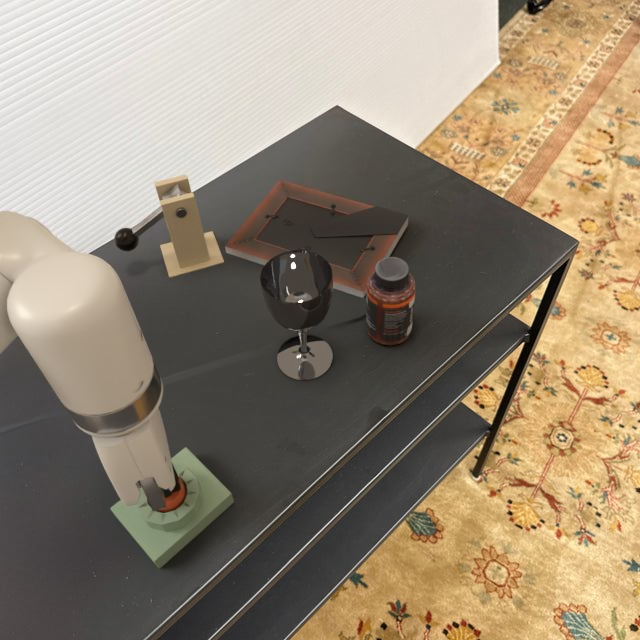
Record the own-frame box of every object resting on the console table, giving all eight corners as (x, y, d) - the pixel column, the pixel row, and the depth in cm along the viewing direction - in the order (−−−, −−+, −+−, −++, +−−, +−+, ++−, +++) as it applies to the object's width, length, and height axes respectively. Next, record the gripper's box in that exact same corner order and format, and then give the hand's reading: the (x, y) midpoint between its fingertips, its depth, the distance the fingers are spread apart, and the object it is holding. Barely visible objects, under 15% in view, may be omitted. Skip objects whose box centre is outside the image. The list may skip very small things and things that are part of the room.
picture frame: (407, 227, 96) (281, 191, 103) (408, 214, 94) (279, 178, 101) (362, 303, 87) (227, 257, 94) (363, 290, 85) (224, 245, 92)
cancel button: (164, 519, 65) (160, 512, 64) (144, 496, 67) (139, 488, 66) (192, 495, 67) (189, 487, 65) (172, 473, 69) (168, 465, 67)
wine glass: (277, 387, 79) (263, 307, 67) (270, 337, 84) (256, 255, 73) (341, 377, 80) (338, 296, 68) (330, 328, 85) (326, 245, 73)
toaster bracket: (171, 282, 91) (148, 213, 81) (161, 250, 96) (139, 181, 86) (225, 267, 93) (209, 197, 83) (214, 236, 97) (197, 166, 87)
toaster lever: (128, 259, 88) (110, 247, 86) (124, 244, 90) (107, 232, 88) (195, 207, 86) (179, 193, 83) (190, 193, 88) (174, 179, 85)
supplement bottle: (421, 333, 83) (428, 272, 75) (384, 355, 81) (388, 295, 73) (392, 305, 87) (396, 243, 78) (356, 325, 85) (356, 264, 76)
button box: (159, 569, 65) (149, 555, 62) (115, 516, 69) (104, 500, 66) (234, 502, 70) (229, 485, 67) (189, 455, 74) (182, 438, 70)
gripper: (56, 333, 55) (117, 439, 69) (74, 484, 46) (140, 571, 60) (142, 308, 57) (185, 417, 71) (177, 450, 48) (218, 543, 62)
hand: (164, 488), depth 65 cm, fingers closed
